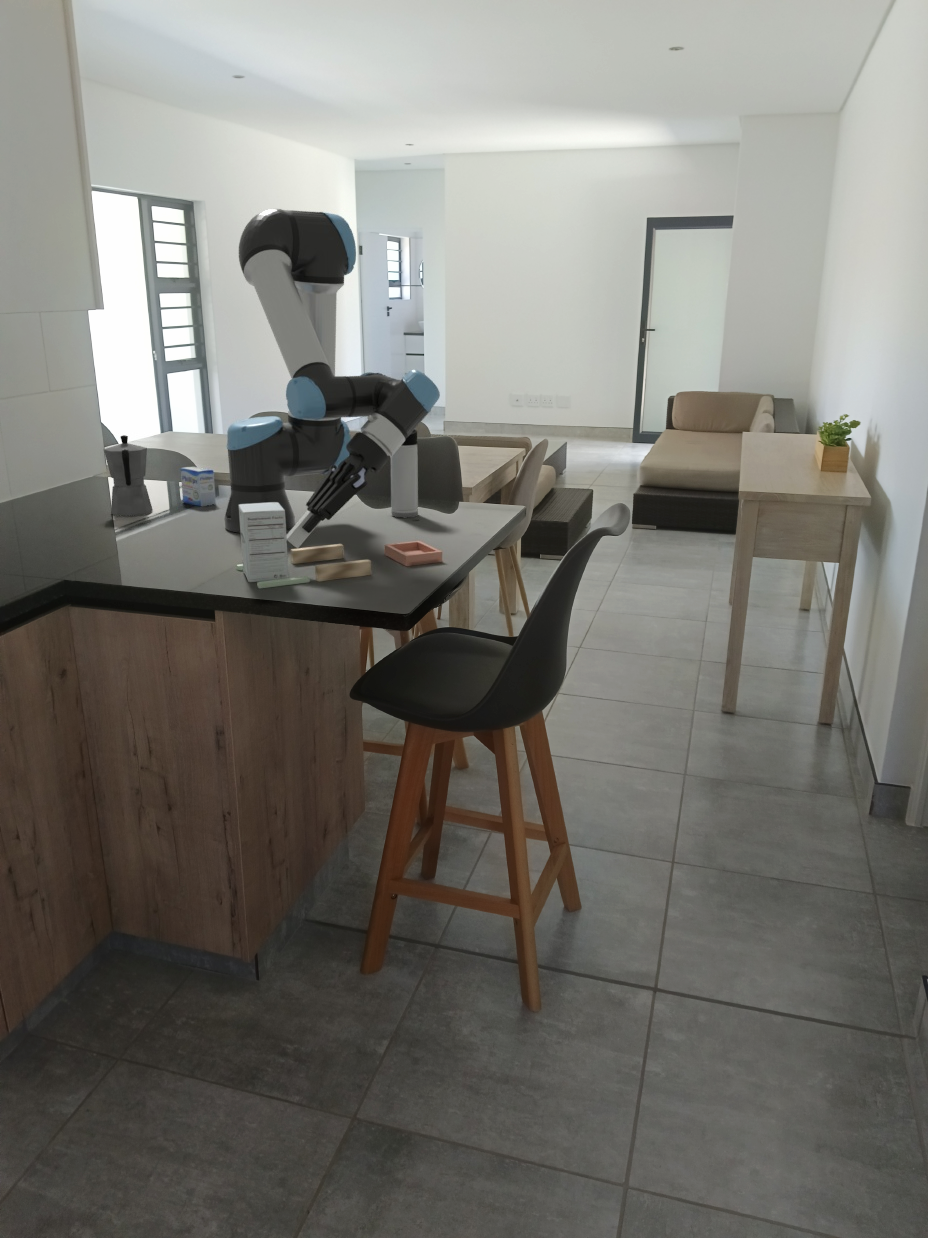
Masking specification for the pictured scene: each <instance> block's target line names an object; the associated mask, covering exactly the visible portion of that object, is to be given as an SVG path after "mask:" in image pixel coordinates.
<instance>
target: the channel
mask: <svg viewBox="0 0 928 1238" xmlns="http://www.w3.org/2000/svg"><path fill="white" fill-rule="evenodd" d="M344 558H345V557H344V545H343V544H342V543H335V544H327V545H326V544H325V545H317V546H309V547H299V548H298V549H297V548H290V562H291V563H292V564H293V565H297V564H306V563H313V562H320V561H330V560H338V559H340V560H341V559H344ZM314 570H315V571H314V573H315V581H317V582H323V581H331V580H340V579H348V578H355V577H356V578H357V577H363V576H371V575H372V562H371V560H370V559H368V558H367V559H360V560H352V561H342V562H336V563H335V562H334V563H326V564H318V565H317V564H316V565H315V566H314Z"/></svg>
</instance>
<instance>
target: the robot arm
mask: <svg viewBox="0 0 928 1238" xmlns="http://www.w3.org/2000/svg"><path fill="white" fill-rule="evenodd" d="M238 261H239V265H240V268H241V271H242V274H243V276H244V279H245V280H246V281H245V282H247V283H248V284H249V285H251V286H252V287H254V290H255V292H256V294H257V297H258V300H259V301H260V305H261V307H262V309H263V312H264V314H265V316H266V319H267V322H268V325H269V327H270V329H271V332H272V333H273V337H274V339H275V341H276V344H277V347H278V348H279V350H280V354H281V356H282V358H283V361H284V364H285V366H286V368H287V371H288V373H289V376H290V380H289V381H288V383H287V385H286V390H285V399H286V401H287V403H286V405H287V409H288V411H287V422H283V421H282V419H281V417H279V416H275V415H273V416H272V415H271V416H270V415H269V416H268V415H267V416H257V417H251V418H246V419H242V420H238V421H236V422H233V423H231V424H230V425H229V426H228V429H227V430H226V431H227V434H226V435H227V437H226V439H227V443H226V449H227V456H228V457H227V458H228V466H229V467H228V468H229V481H230V482H229V483H230V484H229V486H230V495H229V499H228V503H227V507H226V511H225V515H224V527H225V530H227V531H229V532H234V533H240V534H241V532H240V518H239V504H253V503H269V502H278V503H279V504H280V505H281V506H282V508H283V509H284V510H285V519H286V531H288V530H289V531H288V533H286V537H287V542H289V543H290V544H291V545H292V546H293V547H294V548H295V549H298V548H301V546H302V545H303V543H305V540H306V539H307V538H308V537H309V536H310V535H311V533H312V532H314V530H315V529H316V528H317V527H318V526H319V524H320V523H321V522H323V521H324V520H327V521H329V520H331V519H332V517H334V516H335V515H336V514H338V512H339V511H340V510H341V509H342V508H343V507H344V506H345V505H346V504H347V503H348V502H349V501H350V500H351V499H352V498H353V497H354V496H355V495H356V494H357V493H359V491H361V490H362V489H364V488H365V487H366V486H367V485H368V481H367V480H365V477H366V476H367V475H368V474H369V471H370V472H372V473H374V474H377V473H379V472H380V471H381V469H382V468H384V466H385V465H386V463H387V462H388V461H389V457H390V456H393V455H394V453H395V452H396V451H397V450H398V449H399V447H400V446H401V445H402V444H403V443H404V441H405V439H406V438H407V437H408V436H409V435H410V434H411V433H412V431H413V430H416V428H417V427H418V426H419V425H420V423H421V422H423V420H424V419H425V418H426V417H427V415H428V414H429V413H431V411H432V408H433V407H434V406H435V405H436V403H437V402H438V401H439V399H440V395H441V394H440V393H441V392H440V389H439V388H438V386H437V385H436V384H435V382H433V380H432V379H431V378H430V377H428V375H426V374H424V373H423V372H422V371H420V370H418V369H411V370H409V371H407V373H405V374H404V375H402V377H401V379H396V378H394V377H391V376H388V375H385V374H382V373H380V372H364V373H362V374H360V375H352V376H351V375H349V376H347V375H345V376H343V375H341V376H339V375H337V376H336V346H337V345H336V337H337V334H336V333H337V294H338V292H339V290H340V289H341V288H343V287H344V285H345V276H347V275H349V274H351V273H352V272H353V270H354V269H355V264H356V261H357V247H356V240H355V236H354V233H353V231H352V229H351V227H350V225H349V223H348V221H347V220H346V219H345V218H344V217H342V216H341V215H339V214H335V213H329V212H324V211H307V210H305V211H304V210H294V209H293V210H289V209H283V208H282V209H281V208H271V209H266V210H263V211H261V212H259V213H258V214H255V216H253V217H252V218H251V219H250V220H249V222H248V223H247V224H246V225H245V227H244V229H243V231H242V233H241V236H240V239H239V243H238ZM361 417H362V418H363V417H367V418H366V419H367V421H366V422H364V424H363V425H362V426H361V428H360V432H356V433H355V434H354V435H353V436H352V435H351V434H350V428H349V425H348V424H347V423H346V422H345V420H342V418H361ZM317 474H318V475H325V476H324V478H323V479H322V480H321V482H320V483H319V485H318V486H317V487H316V489H315V491H314V492H313V494H312V495H311V496H310V498H309V499H308V501H306V504H305V506H306V507H307V508H306V511H305V513H304V514H303V515H302V516H301V517H300V518H299V520H298V521H297V522H296V520H295V517H296V516H295V514H294V511H293V508H292V505H291V503H290V499H289V497H288V495H287V492H286V481H285V479H286V477H296V476H297V477H298V476H307V475H317Z"/></svg>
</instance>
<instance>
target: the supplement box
mask: <svg viewBox="0 0 928 1238" xmlns="http://www.w3.org/2000/svg"><path fill="white" fill-rule="evenodd" d="M239 518H240V532H241V533H240V546H241V560H242V564H243V570H242V571H243V573H244V575H245V577H246V579H247V582H248V583H257V582H264V581H272V580H280V579H288V578H290V575H289V574H290V573H289V561H288V559H289V558H288V557H289V556H288V540H287V537H286V535H287V530H286V519H285V510H284V509H283V508H282V506H281V505H280V504H279V503H278V502H269V503H253V504H239Z"/></svg>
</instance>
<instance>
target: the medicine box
mask: <svg viewBox="0 0 928 1238" xmlns="http://www.w3.org/2000/svg"><path fill="white" fill-rule="evenodd" d="M214 473H215V472H214V470H213V469H209V468H204V467H203V468H202V467H198V466H186V467H181V468H180V475H181V477H180V478H181V479H180V480H181V490H182V491H181V492H182V502H183V503H184V504H188V505H191V506H192V505H193V506H198V507H206V506H207V505H209V506H213V505H212V504H214V505H216V503H217V501H216V489H215V488H216V487H215V486H216V485H215V474H214ZM207 507H208V506H207Z"/></svg>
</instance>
